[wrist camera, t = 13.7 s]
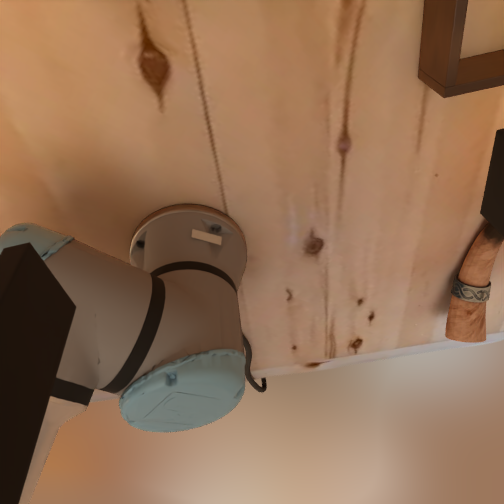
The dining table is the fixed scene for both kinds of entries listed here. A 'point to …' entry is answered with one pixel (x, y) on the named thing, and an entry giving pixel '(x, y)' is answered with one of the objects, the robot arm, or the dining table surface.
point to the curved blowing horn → (473, 289)
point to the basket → (453, 53)
